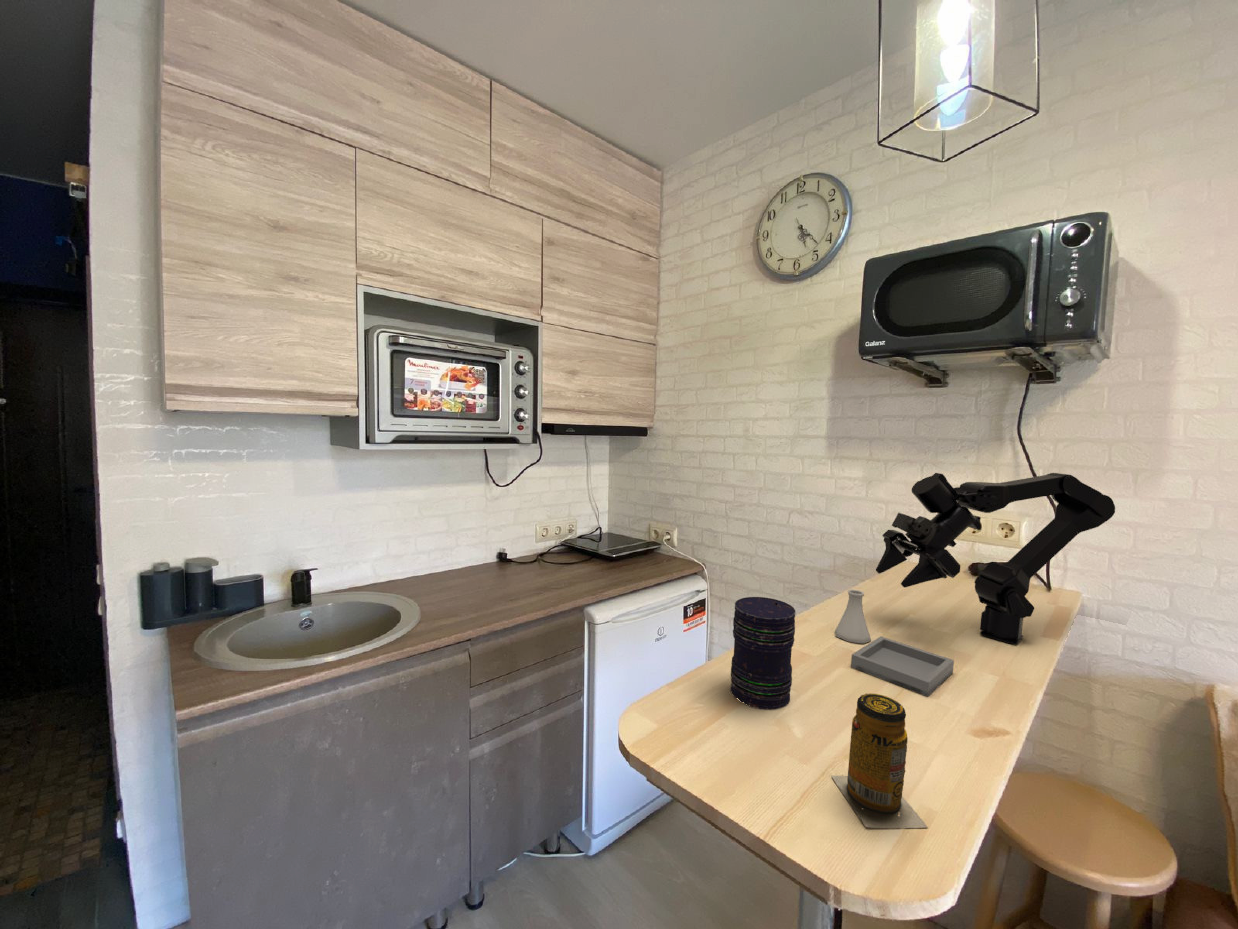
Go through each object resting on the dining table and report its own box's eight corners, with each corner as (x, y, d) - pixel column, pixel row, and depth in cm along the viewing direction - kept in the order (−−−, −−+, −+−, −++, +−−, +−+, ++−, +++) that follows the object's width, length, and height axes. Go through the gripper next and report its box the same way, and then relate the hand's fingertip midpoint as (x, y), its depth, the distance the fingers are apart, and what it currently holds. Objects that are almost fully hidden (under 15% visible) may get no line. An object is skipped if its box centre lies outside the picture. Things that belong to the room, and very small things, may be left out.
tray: (952, 673, 95) (953, 660, 95) (927, 697, 86) (929, 682, 86) (879, 648, 105) (880, 636, 104) (850, 667, 96) (851, 654, 96)
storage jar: (762, 717, 79) (767, 623, 78) (717, 688, 87) (721, 603, 86) (803, 699, 85) (809, 611, 83) (757, 673, 93) (761, 593, 92)
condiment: (885, 776, 67) (892, 688, 66) (928, 829, 58) (937, 729, 57) (830, 777, 66) (837, 688, 65) (865, 830, 58) (873, 729, 57)
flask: (867, 647, 105) (870, 600, 104) (830, 637, 109) (833, 592, 108) (874, 636, 111) (878, 591, 110) (839, 627, 115) (842, 583, 114)
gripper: (894, 494, 117) (843, 541, 117) (951, 509, 98) (891, 564, 99) (924, 529, 118) (874, 575, 119) (986, 550, 100) (926, 604, 100)
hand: (889, 578), depth 109 cm, fingers open, 9 cm apart
